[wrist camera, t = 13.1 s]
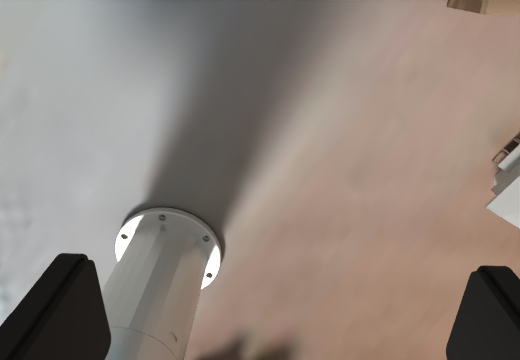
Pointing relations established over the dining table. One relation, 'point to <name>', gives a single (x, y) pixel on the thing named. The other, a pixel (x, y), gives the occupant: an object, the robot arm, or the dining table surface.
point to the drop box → (487, 6)
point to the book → (507, 188)
